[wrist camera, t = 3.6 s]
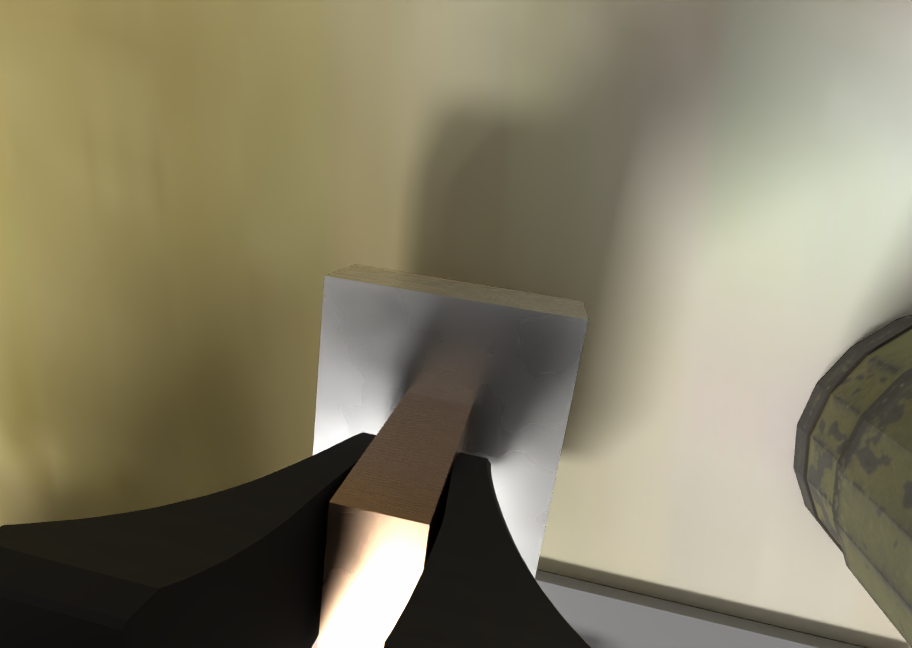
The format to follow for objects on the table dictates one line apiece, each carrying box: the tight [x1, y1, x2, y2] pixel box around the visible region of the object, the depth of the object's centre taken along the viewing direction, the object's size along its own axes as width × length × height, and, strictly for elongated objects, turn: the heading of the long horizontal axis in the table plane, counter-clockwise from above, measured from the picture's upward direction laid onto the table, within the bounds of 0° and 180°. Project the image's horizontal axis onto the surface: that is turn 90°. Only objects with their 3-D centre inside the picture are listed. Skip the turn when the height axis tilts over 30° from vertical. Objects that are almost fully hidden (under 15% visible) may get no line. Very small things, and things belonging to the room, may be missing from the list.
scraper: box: [313, 264, 588, 648], centre depth 11 cm, size 6×8×6 cm
